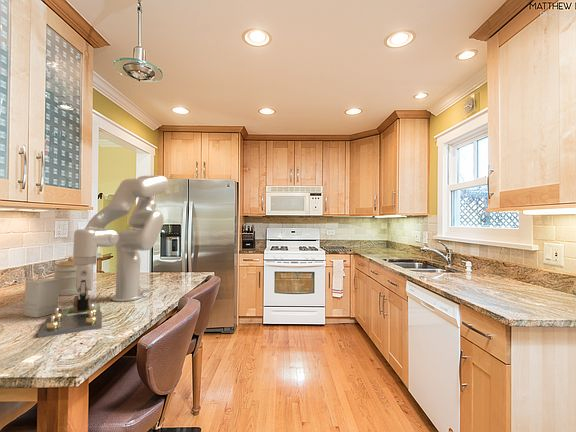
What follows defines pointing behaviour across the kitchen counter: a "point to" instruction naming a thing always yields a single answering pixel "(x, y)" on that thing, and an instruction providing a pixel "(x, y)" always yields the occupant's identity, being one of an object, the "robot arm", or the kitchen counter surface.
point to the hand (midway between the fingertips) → (82, 307)
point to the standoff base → (71, 323)
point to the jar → (66, 277)
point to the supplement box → (41, 297)
